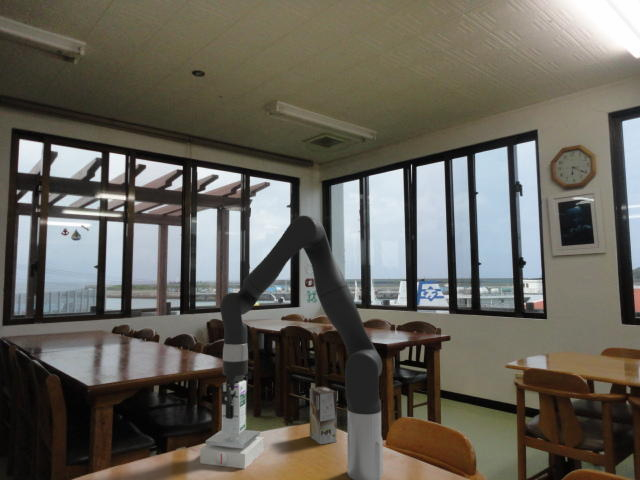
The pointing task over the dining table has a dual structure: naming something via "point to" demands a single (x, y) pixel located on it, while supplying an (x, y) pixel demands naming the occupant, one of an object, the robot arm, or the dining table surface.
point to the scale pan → (233, 439)
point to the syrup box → (236, 411)
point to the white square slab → (232, 454)
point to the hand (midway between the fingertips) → (234, 414)
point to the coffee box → (323, 415)
